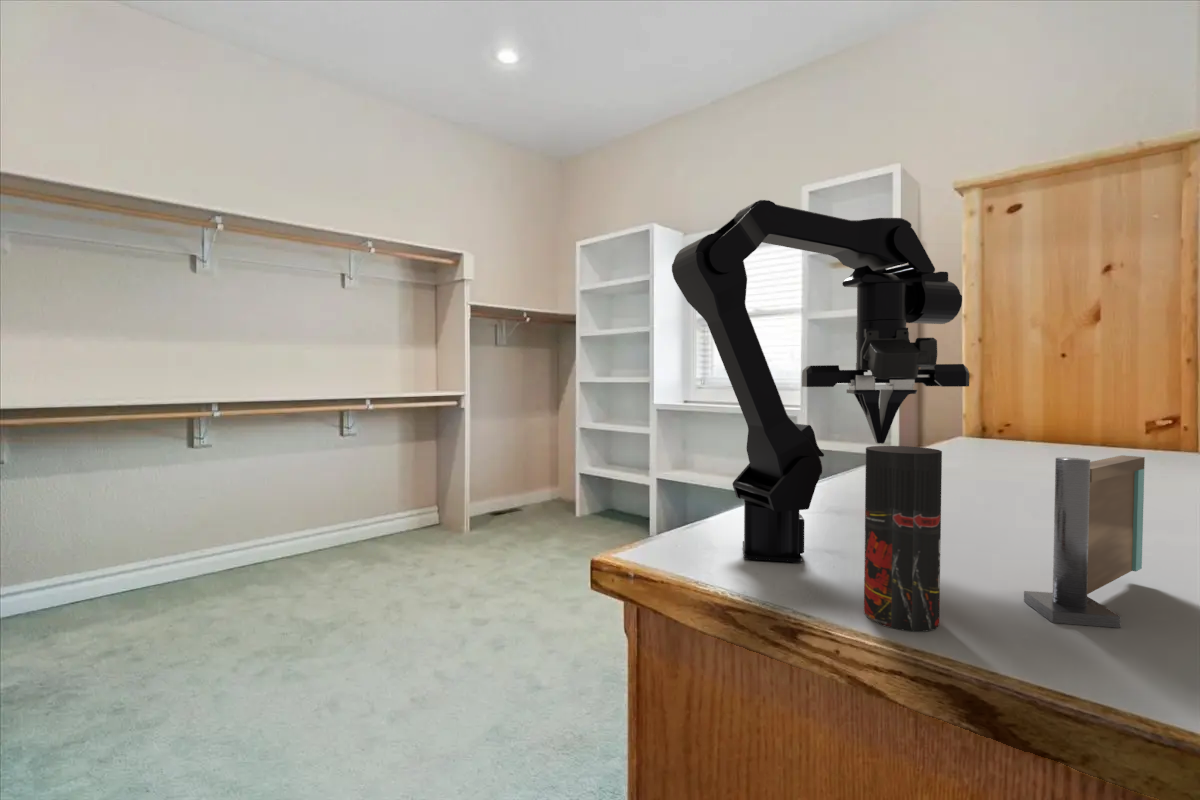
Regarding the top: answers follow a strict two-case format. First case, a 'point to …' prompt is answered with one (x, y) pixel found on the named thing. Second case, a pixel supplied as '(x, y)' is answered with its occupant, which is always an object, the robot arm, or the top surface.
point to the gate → (1115, 519)
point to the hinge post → (1071, 553)
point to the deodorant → (903, 537)
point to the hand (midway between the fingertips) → (879, 443)
